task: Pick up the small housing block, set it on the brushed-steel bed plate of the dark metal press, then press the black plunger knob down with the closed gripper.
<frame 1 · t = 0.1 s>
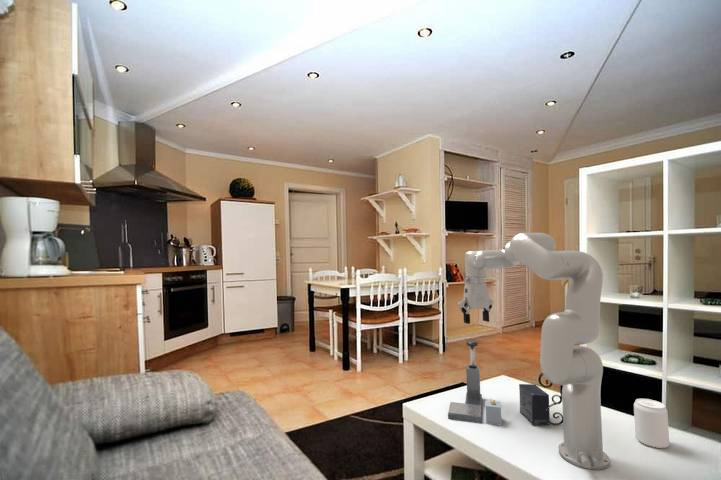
hand: (476, 322, 145), 31 cm above the table, tool pointing down, fingers open, 9 cm apart
housing: (493, 420, 124), on the table
press: (468, 408, 135), on the table
small box: (534, 419, 126), on the table
white cylindrical container: (652, 443, 108), on the table
plunger: (472, 358, 143), point 17 cm above the table, slide at 0.0 cm
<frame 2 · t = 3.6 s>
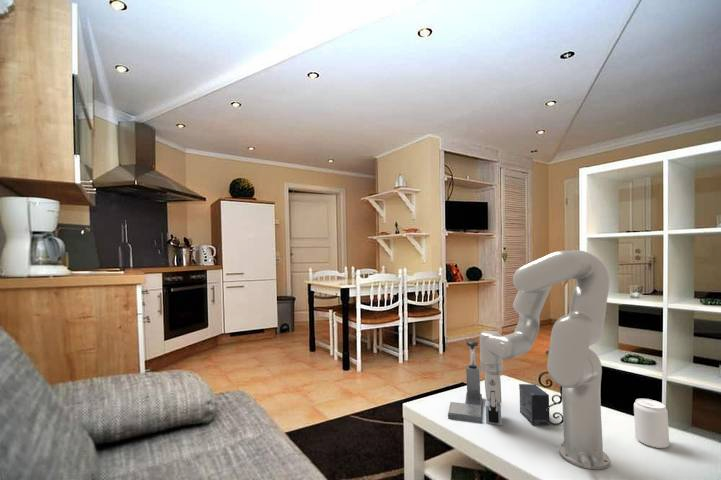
hand: (493, 417, 125), 1 cm above the table, tool pointing down, fingers closed on housing, 5 cm apart
housing: (493, 420, 124), on the table, touching gripper
everything else where it was.
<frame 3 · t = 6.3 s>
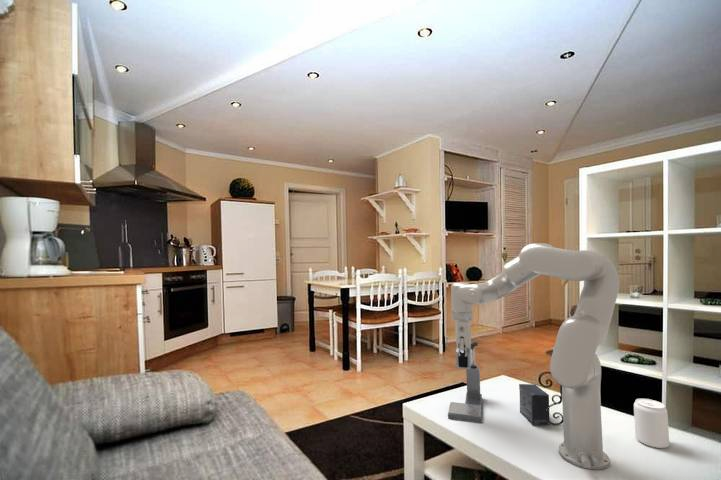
hand: (463, 364, 131), 18 cm above the table, tool pointing down, fingers closed on housing, 5 cm apart
housing: (463, 366, 131), point 17 cm above the table, touching gripper
everything else where it was.
when the fingers open (4 cm above the table, at t = 9.2 s): housing stays where it is, resting on press.
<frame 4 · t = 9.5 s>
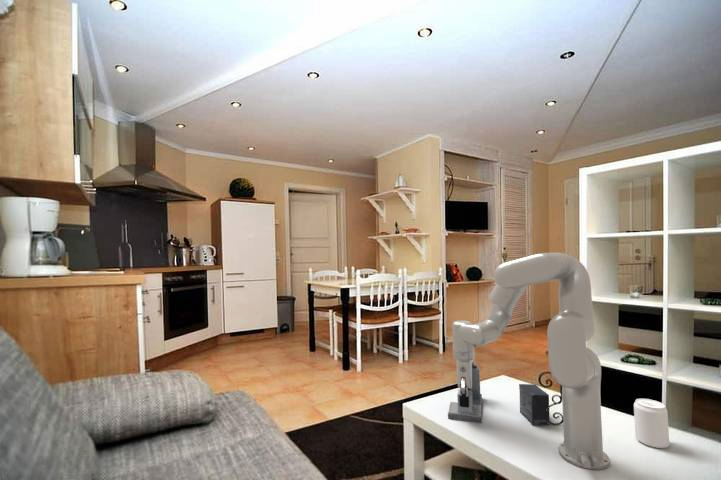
hand: (464, 401, 130), 5 cm above the table, tool pointing down, fingers open, 8 cm apart
housing: (465, 408, 130), point 2 cm above the table, touching press
everything else where it was.
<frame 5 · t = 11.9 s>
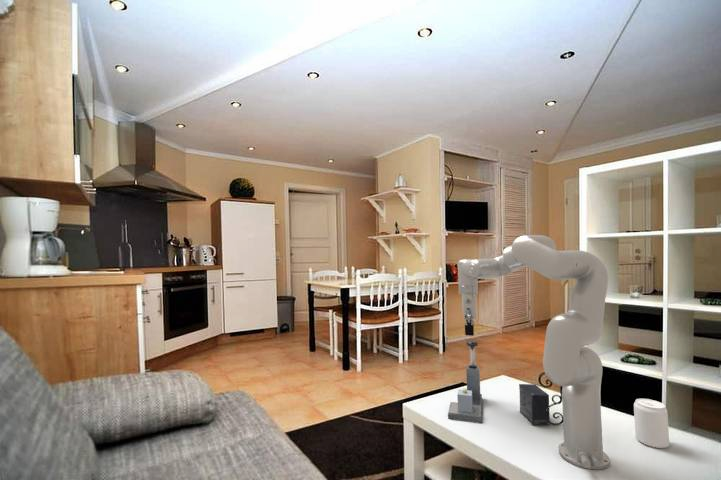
hand: (469, 332, 141), 28 cm above the table, tool pointing down, fingers open, 9 cm apart
nothing on the table moved.
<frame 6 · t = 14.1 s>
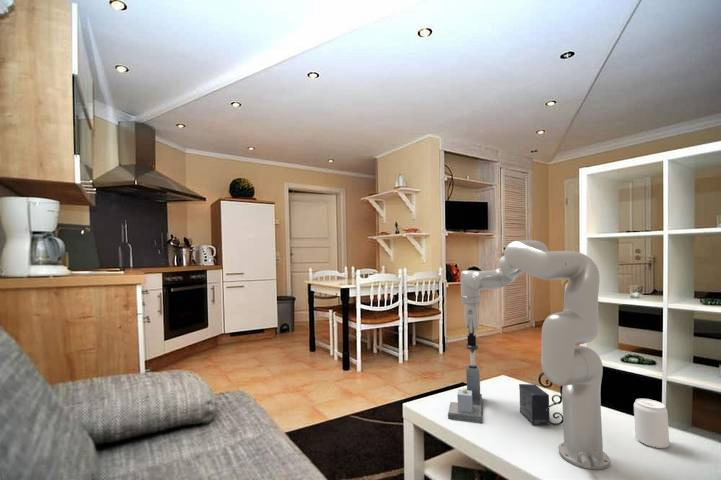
hand: (471, 345, 144), 22 cm above the table, tool pointing down, fingers closed
plunger: (472, 361, 143), point 15 cm above the table, slide at 1.4 cm, touching gripper
everything else where it was.
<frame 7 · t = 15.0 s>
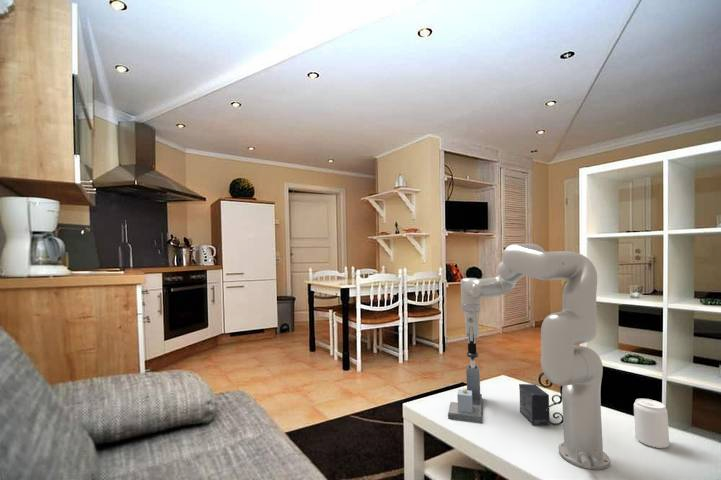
hand: (472, 352, 144), 19 cm above the table, tool pointing down, fingers closed
plunger: (472, 369, 143), point 12 cm above the table, slide at 4.5 cm, touching gripper
everything else where it was.
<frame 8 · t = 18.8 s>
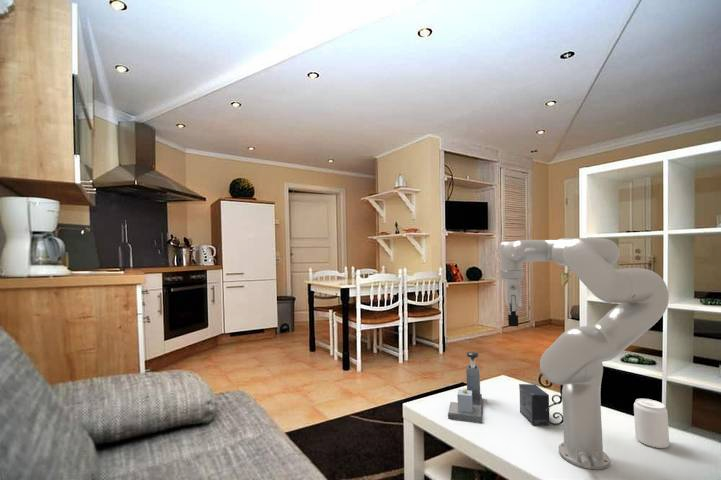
hand: (513, 325, 127), 33 cm above the table, tool pointing down, fingers closed
plunger: (472, 369, 143), point 12 cm above the table, slide at 4.5 cm
everything else where it was.
at the end: plunger slide at 4.5 cm; housing inside the target area (0.3 cm from its centre), point 1.9 cm above the table; housing tilted 0° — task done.
